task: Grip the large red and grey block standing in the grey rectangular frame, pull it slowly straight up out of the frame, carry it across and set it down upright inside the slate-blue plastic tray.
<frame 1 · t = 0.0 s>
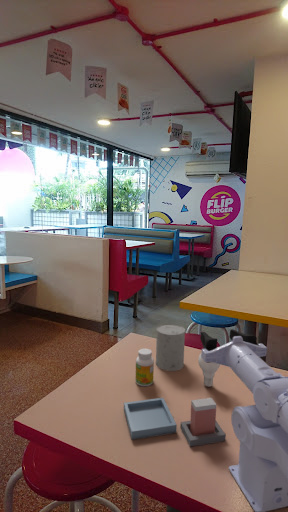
hand: (216, 334, 72), 22 cm above the table, tool horizontal, fingers open, 7 cm apart
grey rectangular frame: (202, 434, 69), on the table
lightbulb: (208, 386, 89), on the table
speckled stone cylinder: (169, 364, 102), on the table
red and grey block: (203, 418, 69), in the grey rectangular frame
supplement bottle: (144, 382, 91), on the table
parts tray: (148, 420, 73), on the table
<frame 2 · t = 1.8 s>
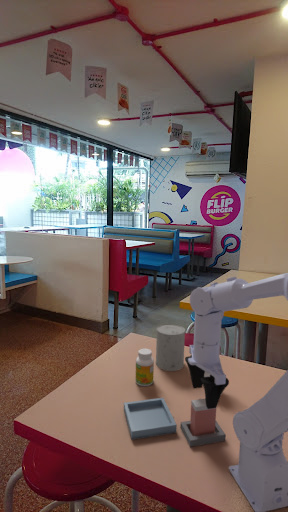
hand: (203, 396, 68), 9 cm above the table, tool pointing down, fingers open, 7 cm apart
nothing on the table moved.
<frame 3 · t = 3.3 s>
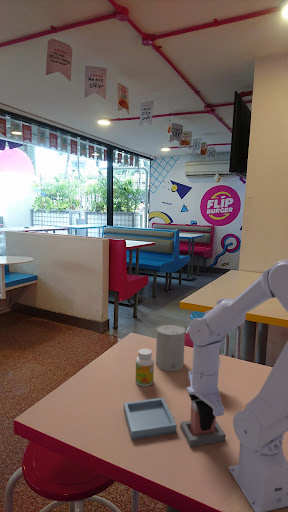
hand: (202, 424, 69), 2 cm above the table, tool pointing down, fingers closed on red and grey block, 2 cm apart
red and grey block: (203, 418, 69), in the grey rectangular frame, touching gripper
everything else where it was.
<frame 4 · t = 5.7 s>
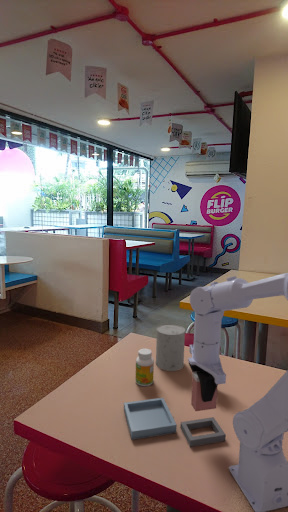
hand: (204, 396, 68), 9 cm above the table, tool pointing down, fingers closed on red and grey block, 2 cm apart
red and grey block: (204, 390, 68), point 11 cm above the table, touching gripper
everything else where it was.
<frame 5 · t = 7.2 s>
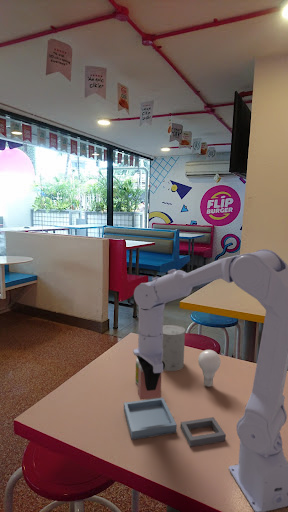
hand: (149, 385, 72), 9 cm above the table, tool pointing down, fingers closed on red and grey block, 2 cm apart
red and grey block: (149, 379, 72), point 11 cm above the table, touching gripper
everything else where it was.
when the fingers open (4 cm above the table, at t = 8.5 s): red and grey block drops 1 cm, resting on parts tray.
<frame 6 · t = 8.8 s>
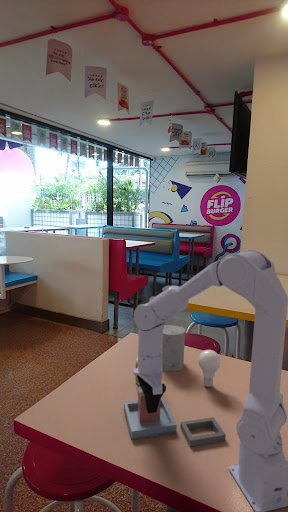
hand: (149, 404, 73), 4 cm above the table, tool pointing down, fingers open, 5 cm apart
red and grey block: (149, 403, 73), in the parts tray, point 5 cm above the table
everything else where it was.
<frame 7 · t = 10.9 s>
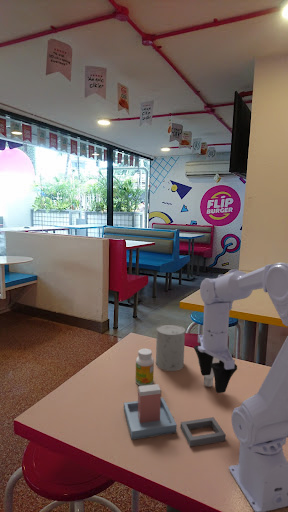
hand: (212, 382, 72), 10 cm above the table, tool pointing down, fingers open, 7 cm apart
nothing on the table moved.
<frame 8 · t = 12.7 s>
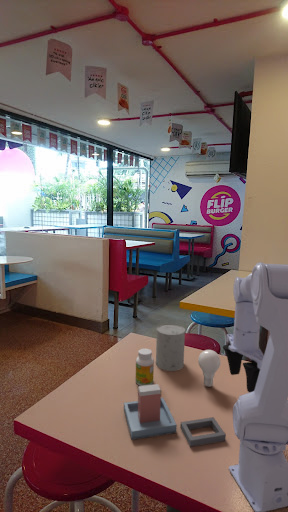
hand: (242, 382, 72), 10 cm above the table, tool pointing down, fingers open, 7 cm apart
nothing on the table moved.
at the end: red and grey block inside the target area on the parts tray (0.0 cm from its centre), point 4.6 cm above the parts tray's base; red and grey block tilted 0°; the gripper is holding nothing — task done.
